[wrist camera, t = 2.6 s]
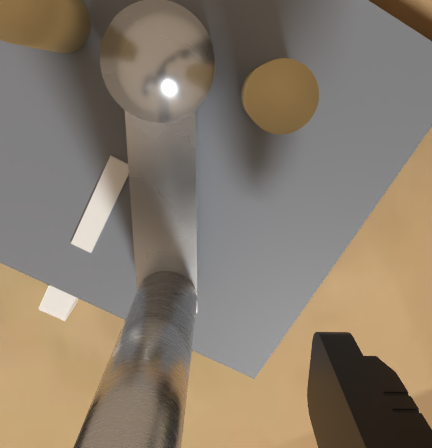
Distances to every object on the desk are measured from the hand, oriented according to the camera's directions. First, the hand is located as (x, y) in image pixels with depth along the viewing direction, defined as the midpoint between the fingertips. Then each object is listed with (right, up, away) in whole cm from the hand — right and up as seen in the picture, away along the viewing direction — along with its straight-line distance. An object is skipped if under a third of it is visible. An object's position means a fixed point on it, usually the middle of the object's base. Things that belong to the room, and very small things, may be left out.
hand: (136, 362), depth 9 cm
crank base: (0, +5, +4) cm, 7 cm away
